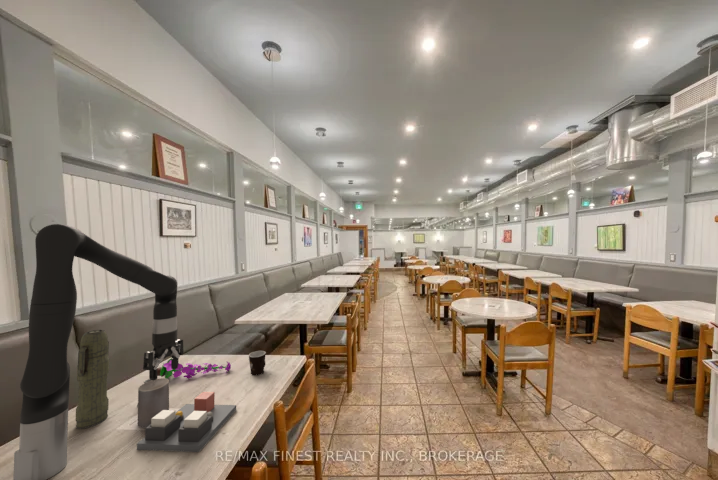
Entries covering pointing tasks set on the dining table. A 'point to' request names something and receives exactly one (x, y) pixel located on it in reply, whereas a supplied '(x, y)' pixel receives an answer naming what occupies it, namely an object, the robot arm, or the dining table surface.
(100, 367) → the thermos
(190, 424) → the block
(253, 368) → the coffee mug
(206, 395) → the cap
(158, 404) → the pillar candle
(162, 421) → the button
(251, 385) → the dining table surface
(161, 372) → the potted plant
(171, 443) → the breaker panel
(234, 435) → the dining table surface
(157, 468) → the dining table surface
